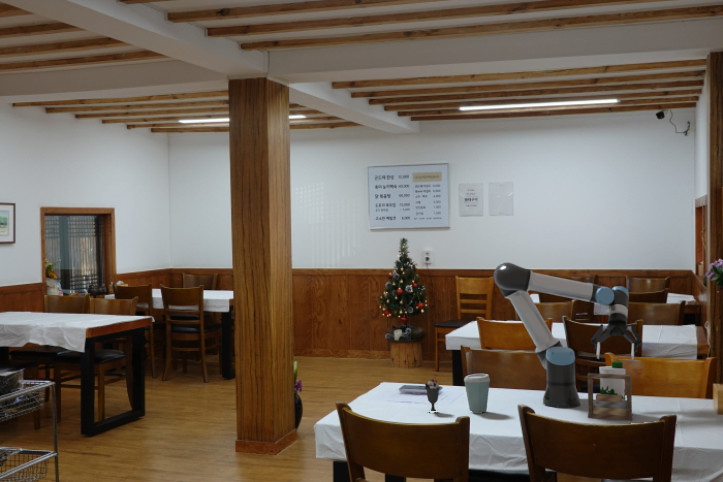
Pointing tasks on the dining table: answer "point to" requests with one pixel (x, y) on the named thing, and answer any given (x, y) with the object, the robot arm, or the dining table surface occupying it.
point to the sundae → (432, 392)
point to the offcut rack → (610, 400)
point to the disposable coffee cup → (477, 391)
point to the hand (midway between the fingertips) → (614, 357)
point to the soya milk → (613, 380)
